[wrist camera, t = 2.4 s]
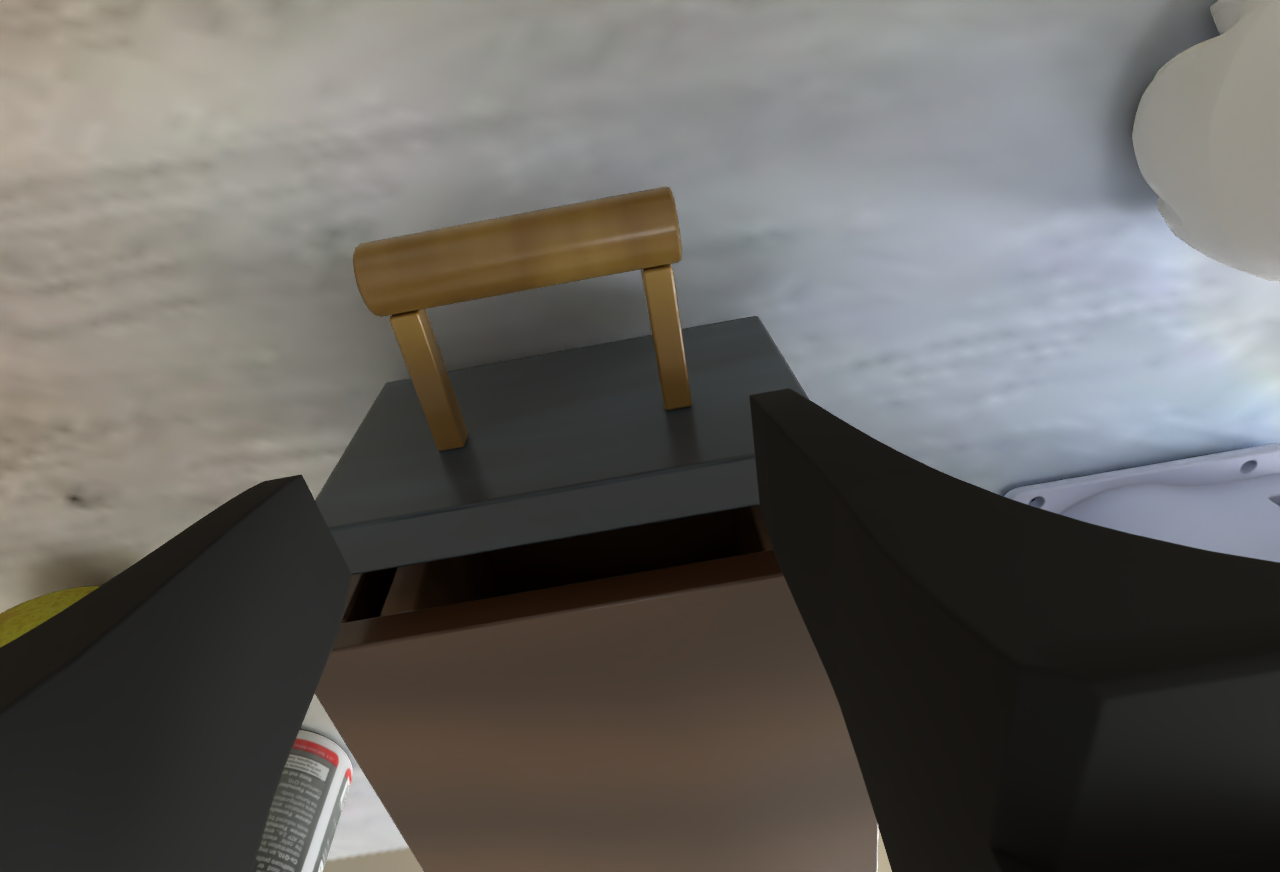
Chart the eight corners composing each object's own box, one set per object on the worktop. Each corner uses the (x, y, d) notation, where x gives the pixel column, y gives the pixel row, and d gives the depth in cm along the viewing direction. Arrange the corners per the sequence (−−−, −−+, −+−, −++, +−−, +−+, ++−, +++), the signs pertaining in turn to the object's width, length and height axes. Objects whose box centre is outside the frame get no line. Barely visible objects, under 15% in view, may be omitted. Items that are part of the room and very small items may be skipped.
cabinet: (398, 436, 21) (291, 658, 13) (777, 369, 20) (885, 557, 13) (514, 722, 27) (485, 975, 20) (799, 675, 27) (877, 914, 20)
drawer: (319, 216, 17) (169, 312, 11) (743, 136, 16) (831, 190, 10) (504, 684, 25) (478, 880, 19) (784, 637, 25) (845, 822, 19)
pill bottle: (208, 740, 27) (68, 998, 20) (318, 712, 26) (215, 964, 19) (274, 807, 29) (170, 1059, 22) (375, 782, 29) (304, 1030, 22)
